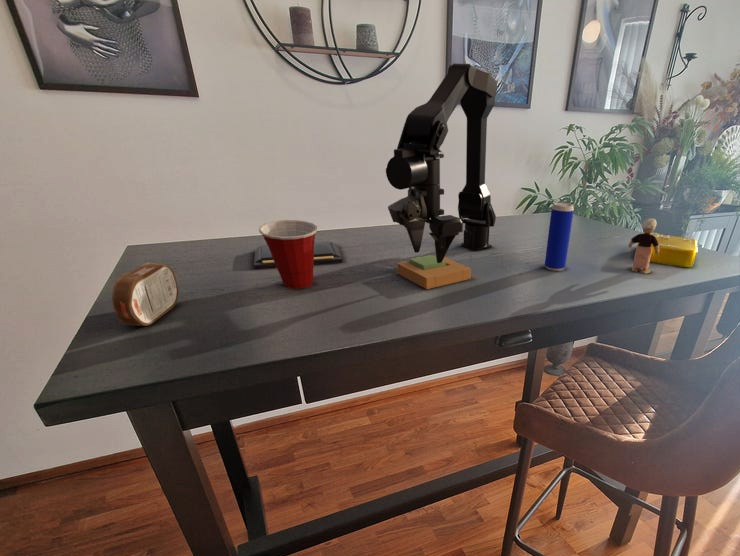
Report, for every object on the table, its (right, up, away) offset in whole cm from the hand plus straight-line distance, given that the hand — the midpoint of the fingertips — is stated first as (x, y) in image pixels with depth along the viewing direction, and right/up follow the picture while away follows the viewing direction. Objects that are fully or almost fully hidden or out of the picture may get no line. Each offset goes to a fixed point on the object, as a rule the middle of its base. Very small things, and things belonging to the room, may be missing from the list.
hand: (427, 257), depth 101 cm
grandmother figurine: (+52, 0, +11) cm, 53 cm away
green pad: (0, -3, +2) cm, 4 cm away
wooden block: (+1, -4, +1) cm, 4 cm away
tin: (-45, -17, -23) cm, 53 cm away
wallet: (-33, +3, +9) cm, 34 cm away
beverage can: (+31, 0, +10) cm, 32 cm away
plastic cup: (-27, -8, -7) cm, 29 cm away
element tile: (+63, +6, +22) cm, 67 cm away
